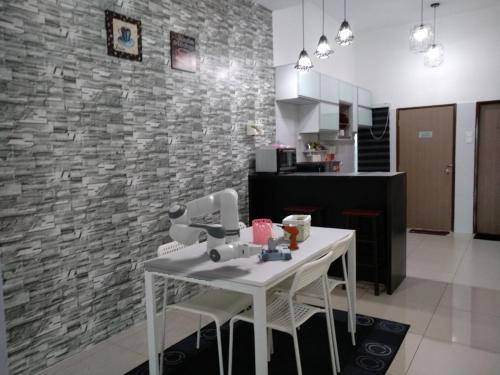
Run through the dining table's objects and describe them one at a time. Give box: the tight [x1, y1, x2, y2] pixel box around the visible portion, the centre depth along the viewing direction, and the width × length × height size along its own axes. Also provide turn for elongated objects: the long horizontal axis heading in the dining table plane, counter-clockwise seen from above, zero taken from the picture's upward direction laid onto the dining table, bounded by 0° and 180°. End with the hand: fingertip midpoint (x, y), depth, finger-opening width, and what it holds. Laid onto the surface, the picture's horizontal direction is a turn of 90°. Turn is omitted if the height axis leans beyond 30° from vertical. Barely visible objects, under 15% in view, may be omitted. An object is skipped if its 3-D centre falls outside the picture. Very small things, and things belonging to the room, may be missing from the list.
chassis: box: [259, 247, 293, 262], centre depth 225 cm, size 18×14×4 cm
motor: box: [267, 236, 277, 253], centre depth 225 cm, size 5×5×11 cm
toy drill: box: [276, 224, 300, 251], centre depth 246 cm, size 5×19×15 cm, turn 44°
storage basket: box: [281, 214, 312, 242], centre depth 273 cm, size 24×16×15 cm
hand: (256, 244), depth 216 cm, fingers open, 8 cm apart
